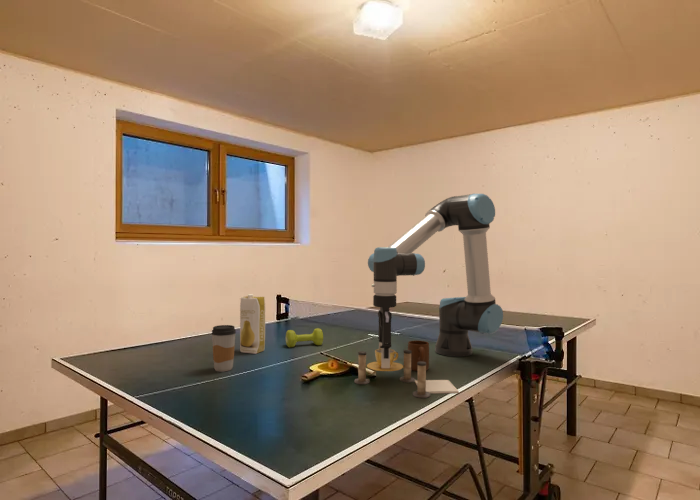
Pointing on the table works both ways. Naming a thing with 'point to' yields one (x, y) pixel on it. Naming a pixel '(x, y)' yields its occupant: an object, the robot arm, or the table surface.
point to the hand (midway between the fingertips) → (384, 365)
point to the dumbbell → (304, 337)
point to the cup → (393, 365)
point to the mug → (419, 353)
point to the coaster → (439, 386)
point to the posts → (407, 377)
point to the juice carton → (252, 324)
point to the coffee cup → (223, 347)
